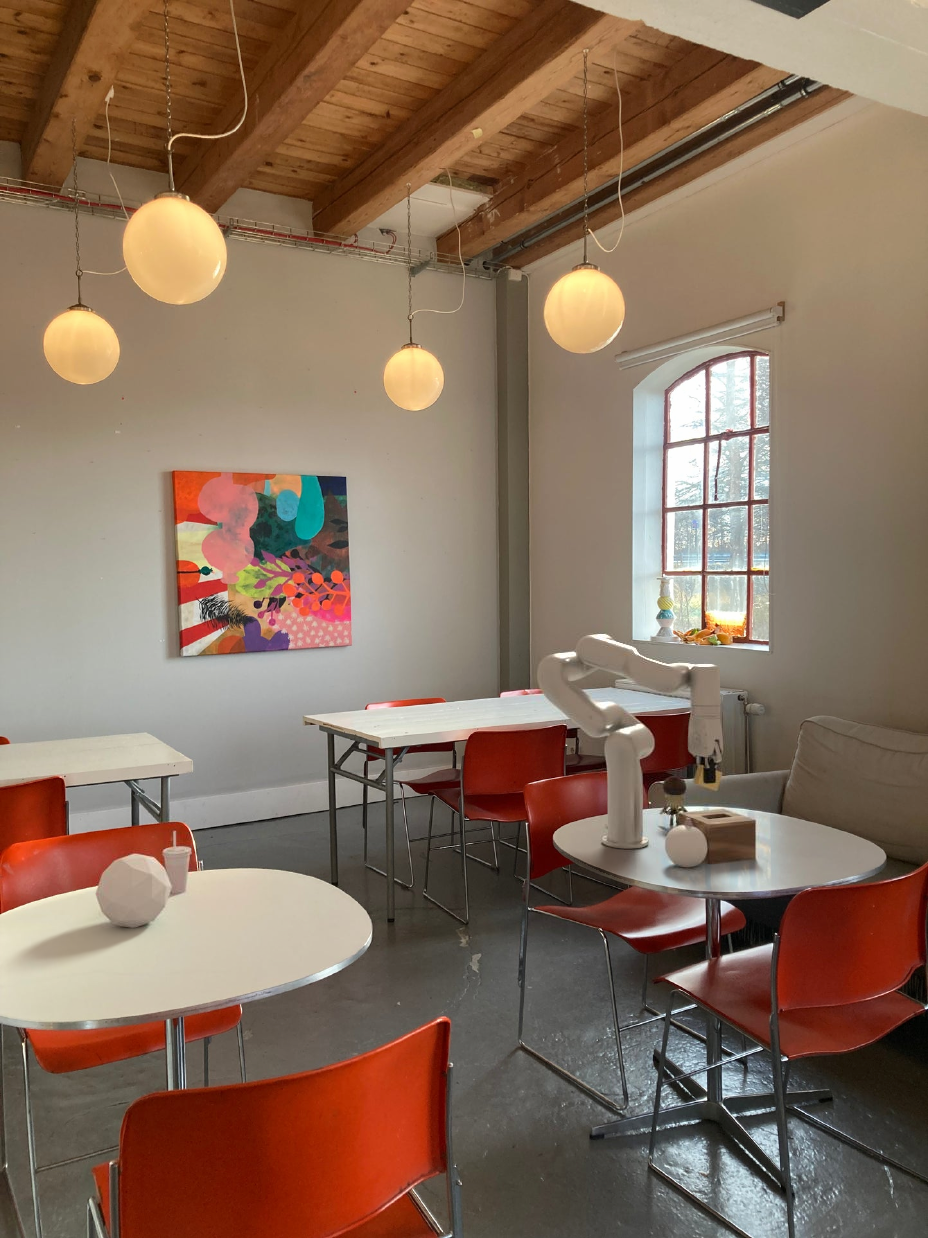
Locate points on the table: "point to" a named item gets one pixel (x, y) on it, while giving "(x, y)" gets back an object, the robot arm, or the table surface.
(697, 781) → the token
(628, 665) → the robot arm
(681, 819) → the box
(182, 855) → the smoothie
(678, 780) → the toy
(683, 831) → the ornament
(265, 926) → the table surface
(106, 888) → the geometric shape
